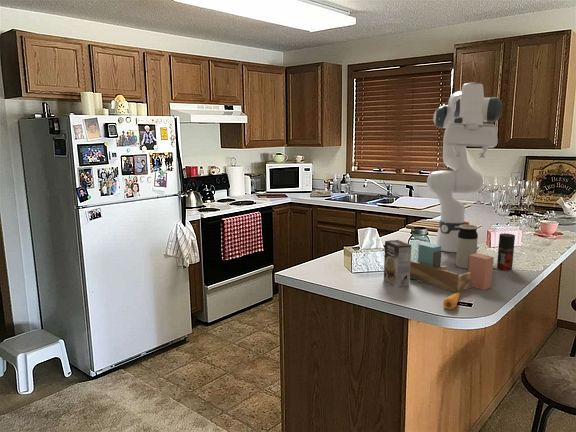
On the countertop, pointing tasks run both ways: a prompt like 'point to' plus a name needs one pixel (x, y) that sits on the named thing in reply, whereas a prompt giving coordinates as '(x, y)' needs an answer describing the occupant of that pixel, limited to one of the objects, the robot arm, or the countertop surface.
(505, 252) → the deodorant
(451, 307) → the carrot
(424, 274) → the brown wooden box
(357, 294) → the countertop surface
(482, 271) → the salmon pink block
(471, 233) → the travel mug
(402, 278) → the coffee box
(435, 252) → the teal rectangular block
